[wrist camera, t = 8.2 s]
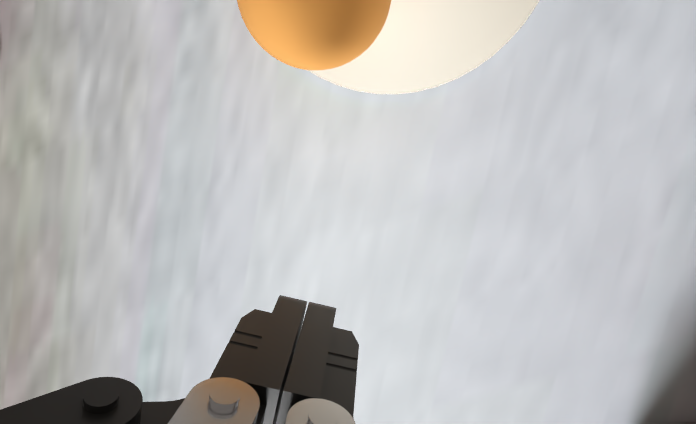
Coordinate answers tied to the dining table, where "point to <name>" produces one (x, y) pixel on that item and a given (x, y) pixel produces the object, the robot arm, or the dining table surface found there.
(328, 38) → the ball
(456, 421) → the dining table surface
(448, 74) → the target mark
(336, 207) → the dining table surface
